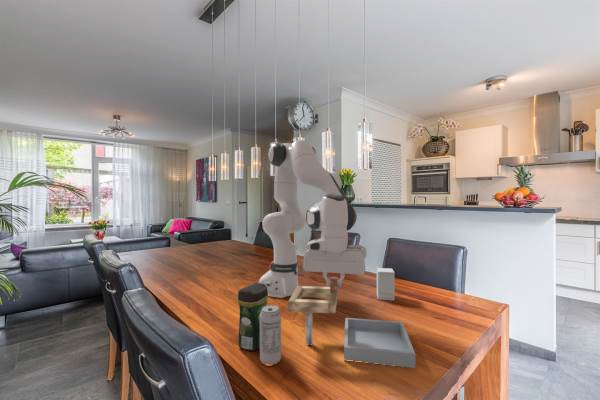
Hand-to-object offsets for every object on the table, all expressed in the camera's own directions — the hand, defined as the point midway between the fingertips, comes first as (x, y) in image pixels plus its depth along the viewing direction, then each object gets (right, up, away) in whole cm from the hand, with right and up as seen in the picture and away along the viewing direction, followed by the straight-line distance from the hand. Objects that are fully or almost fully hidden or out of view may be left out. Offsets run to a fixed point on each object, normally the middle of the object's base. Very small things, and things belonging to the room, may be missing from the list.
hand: (333, 285), depth 91 cm
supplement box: (+28, -17, +35) cm, 48 cm away
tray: (+12, -17, -6) cm, 22 cm away
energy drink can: (-19, -18, -13) cm, 29 cm away
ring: (-6, -5, -2) cm, 8 cm away
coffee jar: (-26, -17, -4) cm, 31 cm away
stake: (-8, -17, -4) cm, 19 cm away
